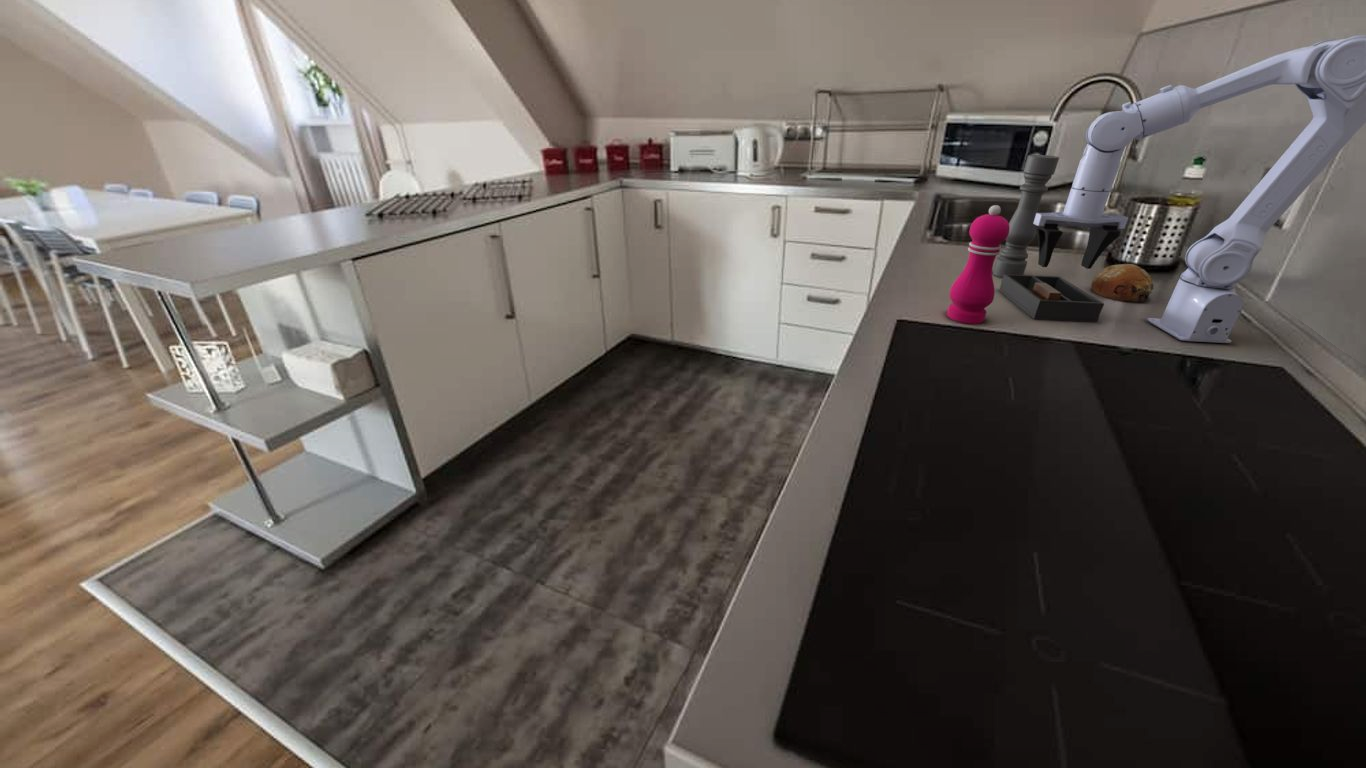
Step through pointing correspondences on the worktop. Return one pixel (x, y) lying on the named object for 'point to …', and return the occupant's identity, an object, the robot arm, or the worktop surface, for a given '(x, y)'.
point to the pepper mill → (978, 269)
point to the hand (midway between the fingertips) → (1064, 266)
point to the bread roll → (1123, 283)
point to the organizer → (1067, 308)
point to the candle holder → (1025, 215)
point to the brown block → (1046, 292)
